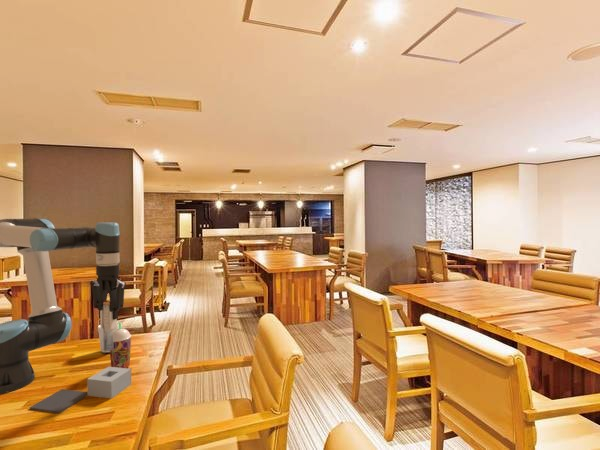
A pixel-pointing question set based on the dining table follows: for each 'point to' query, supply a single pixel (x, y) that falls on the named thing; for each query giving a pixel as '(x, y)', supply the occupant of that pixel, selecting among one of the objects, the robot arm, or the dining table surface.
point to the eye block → (109, 382)
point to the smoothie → (121, 348)
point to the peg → (107, 327)
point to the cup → (102, 337)
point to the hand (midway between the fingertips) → (108, 327)
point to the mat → (59, 401)
